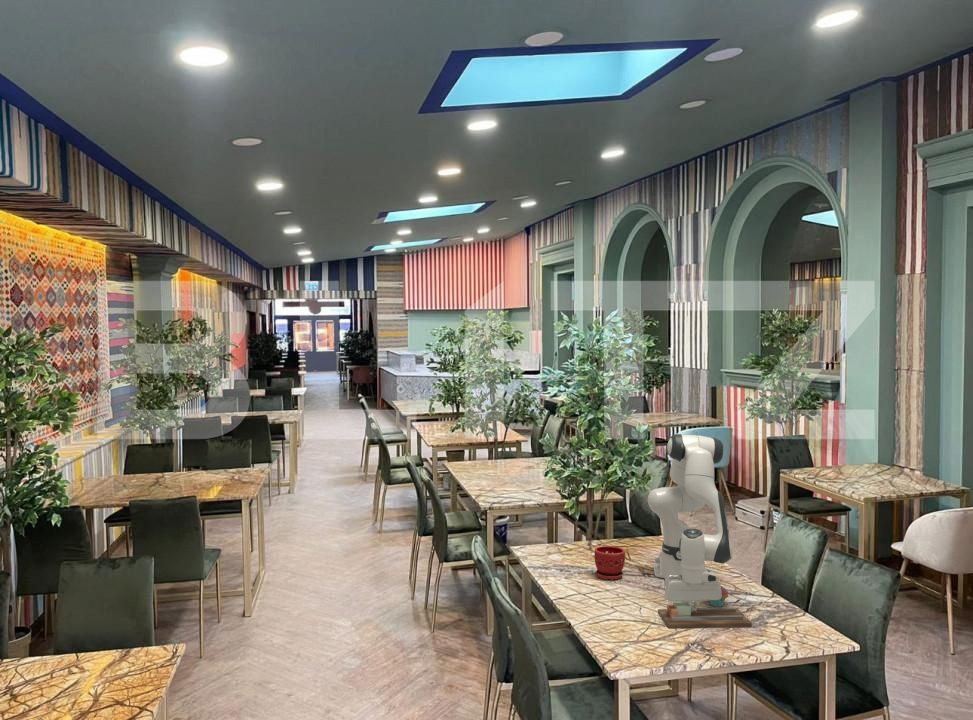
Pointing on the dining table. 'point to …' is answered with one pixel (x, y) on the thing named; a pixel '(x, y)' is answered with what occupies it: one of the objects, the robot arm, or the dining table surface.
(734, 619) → the guide board
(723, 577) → the dining table surface
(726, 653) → the dining table surface
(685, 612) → the block
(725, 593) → the cupcake
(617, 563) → the plant pot
